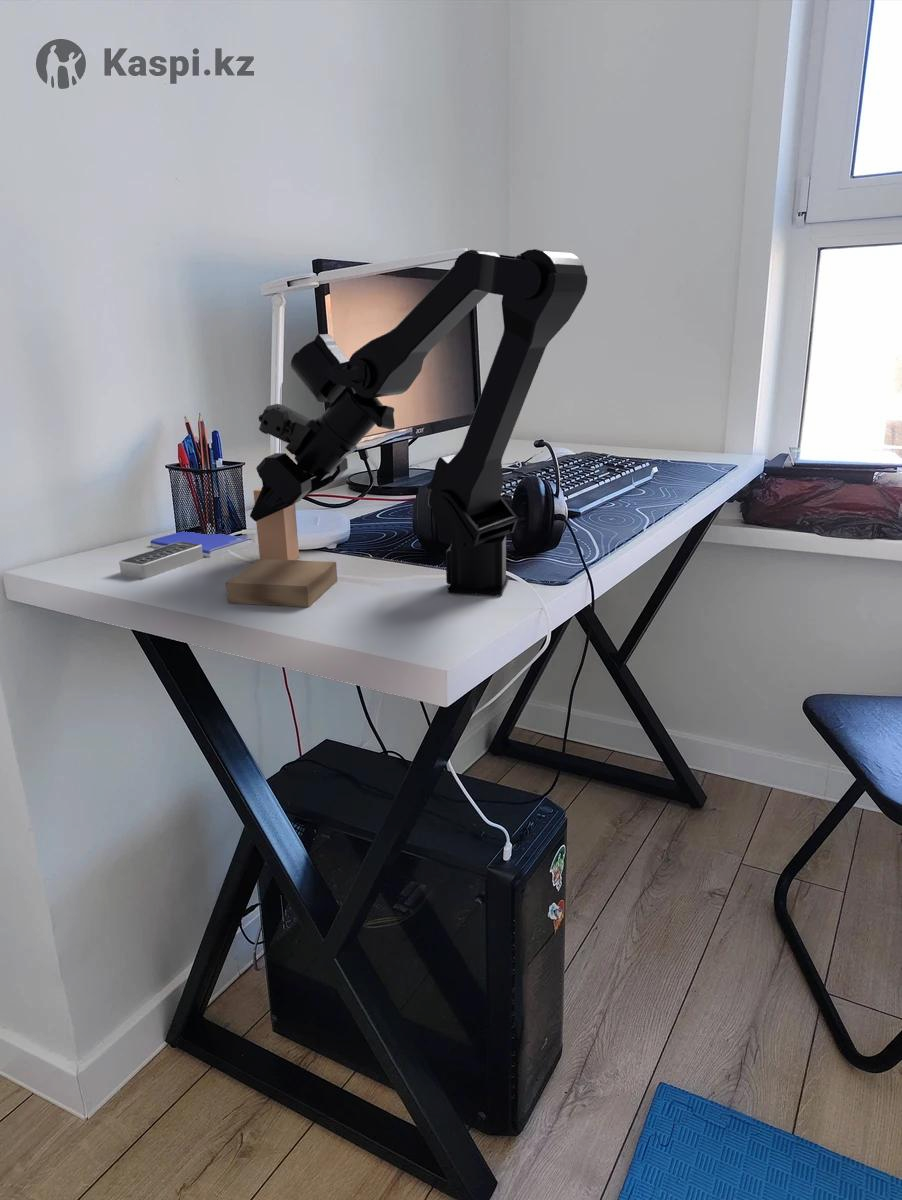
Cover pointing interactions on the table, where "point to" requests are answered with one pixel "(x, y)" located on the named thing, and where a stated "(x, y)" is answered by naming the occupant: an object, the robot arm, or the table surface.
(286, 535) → the block
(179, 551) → the multiport hub
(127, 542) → the table surface
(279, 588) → the plinth
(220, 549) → the hard drive
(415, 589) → the table surface
